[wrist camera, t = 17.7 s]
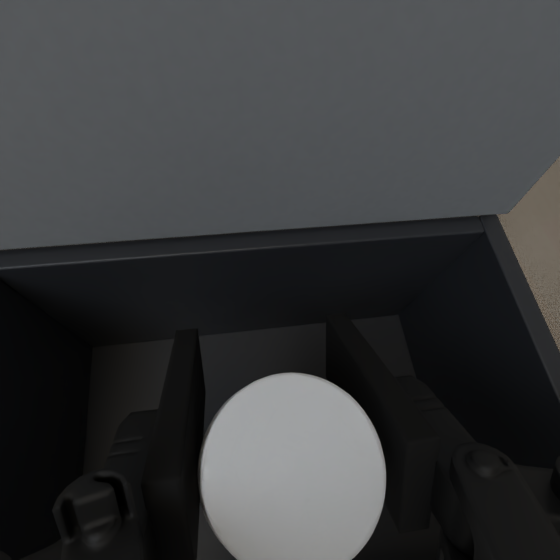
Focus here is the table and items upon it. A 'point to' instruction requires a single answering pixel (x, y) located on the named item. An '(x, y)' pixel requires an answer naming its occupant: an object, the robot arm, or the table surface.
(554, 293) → the table surface
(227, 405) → the pill bottle
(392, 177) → the grey box lid
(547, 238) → the table surface
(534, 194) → the table surface
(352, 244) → the box
